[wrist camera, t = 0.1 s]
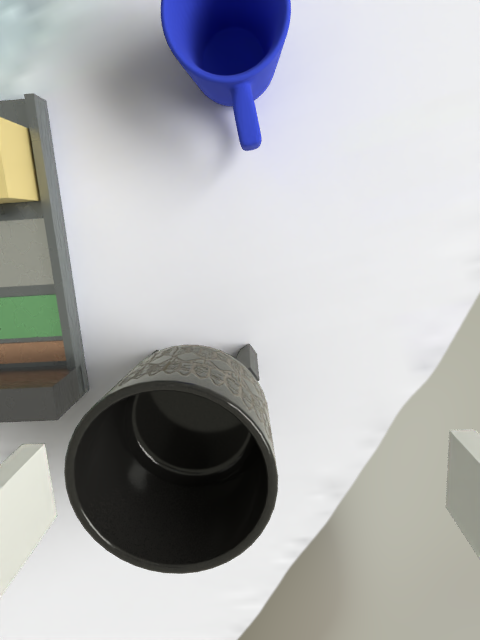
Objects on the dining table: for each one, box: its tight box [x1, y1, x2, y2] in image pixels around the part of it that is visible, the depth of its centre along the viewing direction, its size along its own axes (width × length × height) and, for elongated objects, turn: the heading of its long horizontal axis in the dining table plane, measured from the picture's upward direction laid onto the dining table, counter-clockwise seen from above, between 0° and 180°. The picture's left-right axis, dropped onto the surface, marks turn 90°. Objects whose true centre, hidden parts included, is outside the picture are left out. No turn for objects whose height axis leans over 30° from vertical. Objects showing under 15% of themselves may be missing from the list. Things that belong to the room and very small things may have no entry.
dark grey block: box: [0, 365, 85, 422], centre depth 40 cm, size 3×12×6 cm, turn 94°
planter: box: [64, 344, 278, 574], centre depth 35 cm, size 13×13×18 cm
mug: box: [161, 0, 291, 151], centre depth 32 cm, size 8×12×10 cm
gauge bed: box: [0, 94, 89, 398], centre depth 40 cm, size 27×12×2 cm, turn 4°
